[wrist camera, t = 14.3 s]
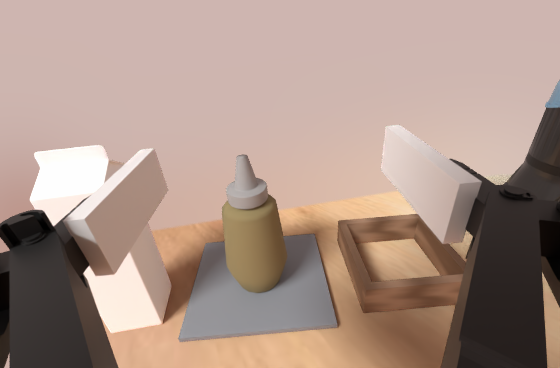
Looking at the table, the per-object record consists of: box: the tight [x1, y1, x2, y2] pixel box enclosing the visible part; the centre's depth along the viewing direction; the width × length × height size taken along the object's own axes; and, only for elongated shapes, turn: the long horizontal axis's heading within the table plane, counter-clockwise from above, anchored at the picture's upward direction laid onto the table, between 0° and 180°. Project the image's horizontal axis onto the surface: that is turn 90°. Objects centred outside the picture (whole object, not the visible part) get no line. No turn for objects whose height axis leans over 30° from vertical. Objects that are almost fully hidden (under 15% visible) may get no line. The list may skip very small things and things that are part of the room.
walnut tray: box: [337, 214, 466, 313], centre depth 37 cm, size 13×13×4 cm
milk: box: [30, 145, 172, 333], centre depth 29 cm, size 6×6×22 cm
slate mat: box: [178, 234, 337, 342], centre depth 37 cm, size 18×16×1 cm
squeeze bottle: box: [222, 155, 287, 293], centre depth 33 cm, size 8×8×18 cm
